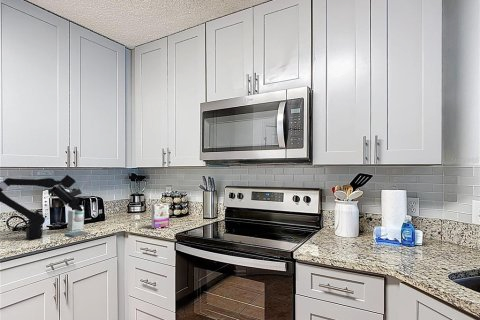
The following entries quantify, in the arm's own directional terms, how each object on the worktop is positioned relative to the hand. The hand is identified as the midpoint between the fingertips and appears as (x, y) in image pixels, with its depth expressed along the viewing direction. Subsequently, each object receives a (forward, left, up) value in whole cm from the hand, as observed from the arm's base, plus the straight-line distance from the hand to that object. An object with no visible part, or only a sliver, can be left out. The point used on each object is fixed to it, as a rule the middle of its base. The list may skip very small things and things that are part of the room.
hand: (81, 210), depth 174 cm
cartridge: (-1, 0, -7) cm, 7 cm away
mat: (-6, -4, -14) cm, 16 cm away
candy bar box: (+34, -34, -14) cm, 51 cm away
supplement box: (+4, +13, -14) cm, 19 cm away
